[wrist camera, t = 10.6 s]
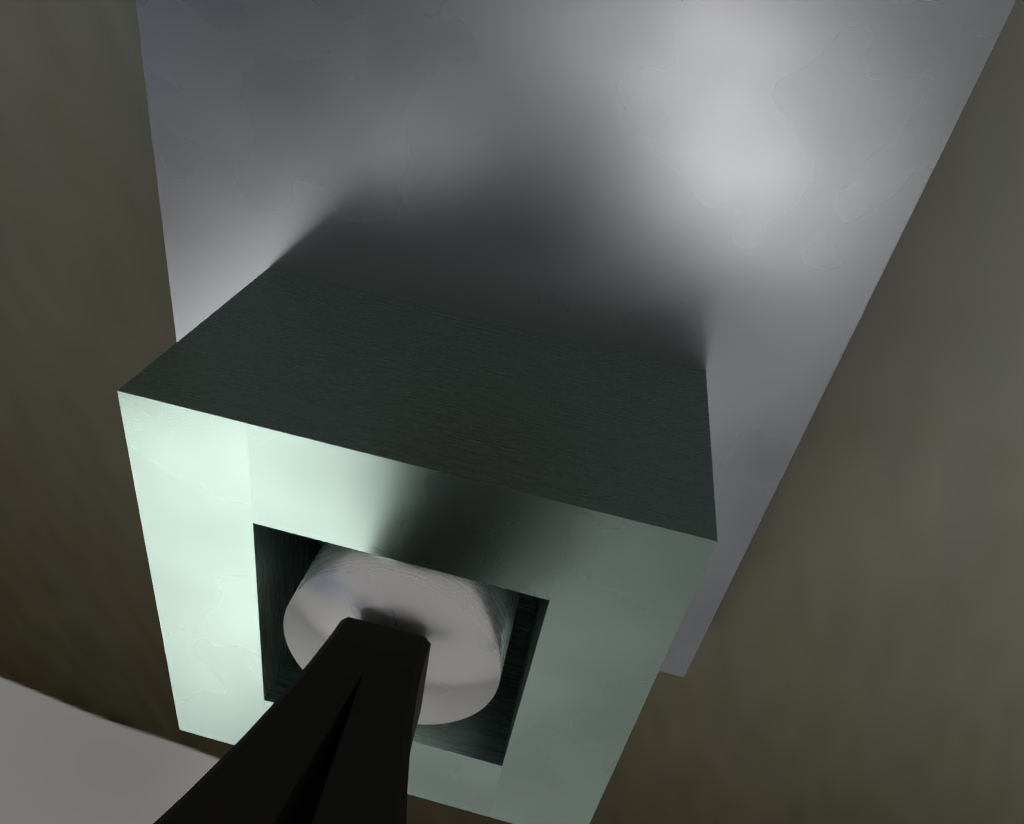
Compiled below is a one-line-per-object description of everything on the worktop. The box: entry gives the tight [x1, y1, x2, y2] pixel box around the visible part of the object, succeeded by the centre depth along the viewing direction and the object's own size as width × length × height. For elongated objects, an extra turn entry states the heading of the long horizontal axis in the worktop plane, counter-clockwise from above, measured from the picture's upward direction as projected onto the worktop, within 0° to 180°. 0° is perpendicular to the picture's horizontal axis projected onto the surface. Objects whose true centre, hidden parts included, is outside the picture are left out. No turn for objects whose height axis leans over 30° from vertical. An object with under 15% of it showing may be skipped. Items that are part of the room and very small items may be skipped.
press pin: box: [283, 542, 521, 725], centre depth 13 cm, size 4×4×4 cm
